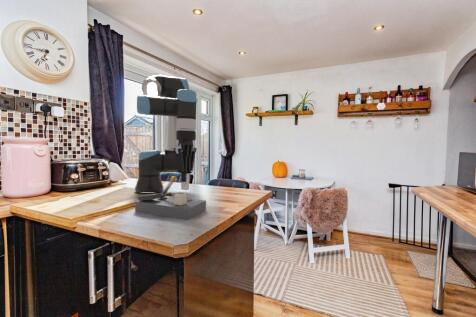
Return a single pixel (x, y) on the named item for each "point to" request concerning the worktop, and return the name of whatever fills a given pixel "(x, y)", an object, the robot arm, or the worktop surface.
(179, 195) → the slider
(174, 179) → the lever
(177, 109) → the robot arm
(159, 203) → the grey rectangular base
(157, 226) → the worktop surface
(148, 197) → the rocker
